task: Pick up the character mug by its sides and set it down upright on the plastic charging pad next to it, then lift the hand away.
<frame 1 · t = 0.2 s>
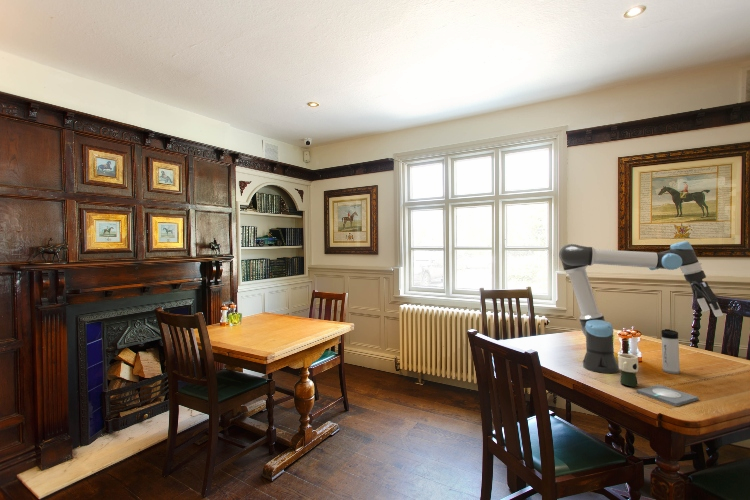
hand: (712, 313, 164), 28 cm above the table, tool tilted 20°, fingers open, 13 cm apart
travel mug: (671, 372, 165), on the table
charging pad: (666, 396, 139), on the table
character mug: (629, 385, 151), on the table
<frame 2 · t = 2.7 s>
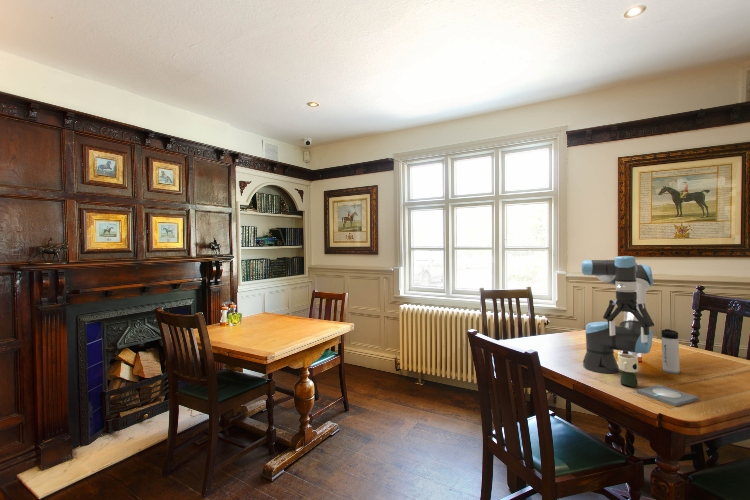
hand: (627, 338, 151), 21 cm above the table, tool pointing down, fingers open, 13 cm apart
nothing on the table moved.
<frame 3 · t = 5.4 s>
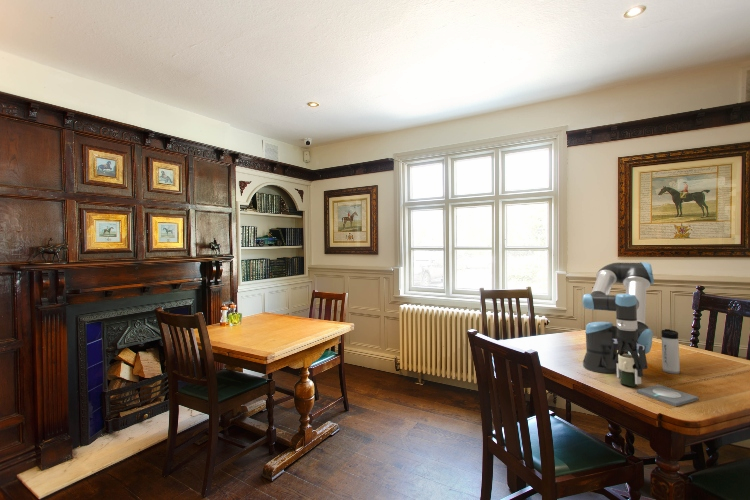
hand: (628, 380, 151), 2 cm above the table, tool pointing down, fingers closed on character mug, 7 cm apart
character mug: (629, 385, 151), on the table, touching gripper
everything else where it was.
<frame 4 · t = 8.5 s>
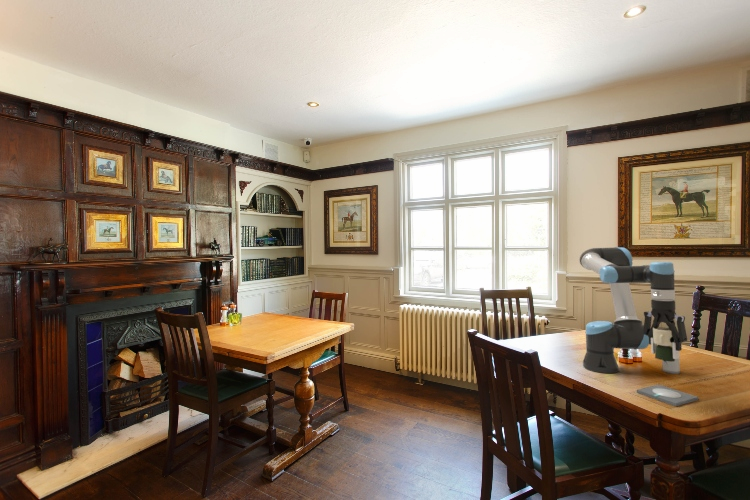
hand: (665, 355, 139), 17 cm above the table, tool pointing down, fingers closed on character mug, 7 cm apart
character mug: (665, 361, 139), point 14 cm above the table, touching gripper
everything else where it was.
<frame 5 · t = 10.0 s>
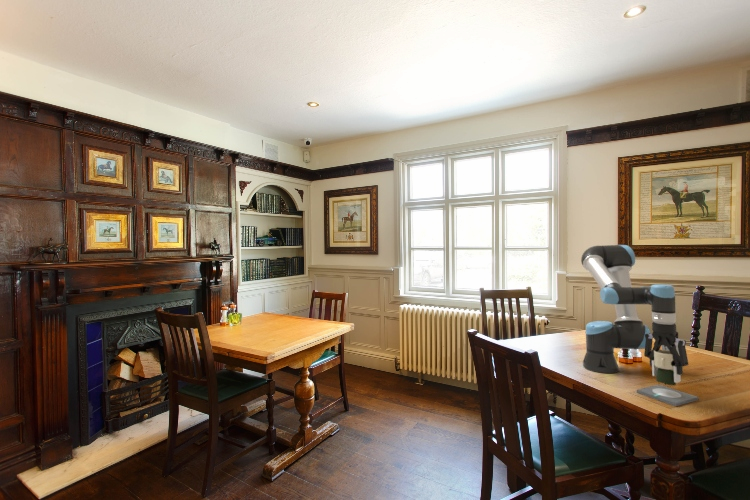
hand: (666, 378, 139), 7 cm above the table, tool pointing down, fingers closed on character mug, 7 cm apart
character mug: (666, 384, 139), point 5 cm above the table, touching gripper
everything else where it was.
when the fingers open (5 cm above the table, at t = 11.4 s): character mug drops 1 cm, resting on charging pad.
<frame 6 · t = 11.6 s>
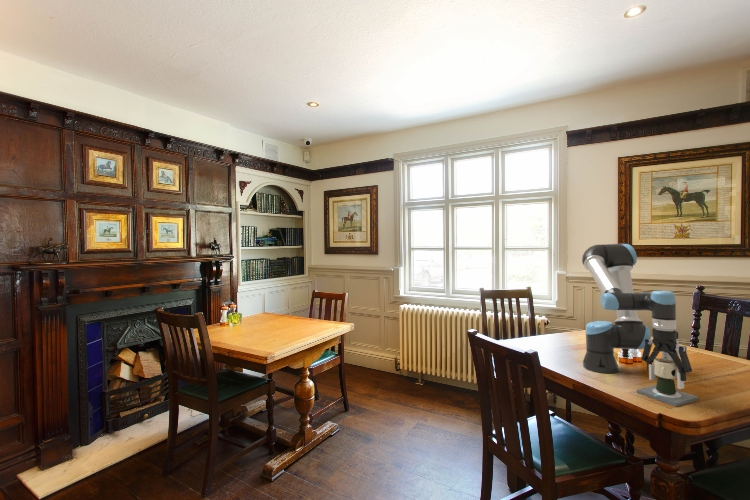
hand: (666, 383, 139), 5 cm above the table, tool pointing down, fingers open, 9 cm apart
character mug: (666, 393, 139), point 1 cm above the table, touching charging pad
everything else where it was.
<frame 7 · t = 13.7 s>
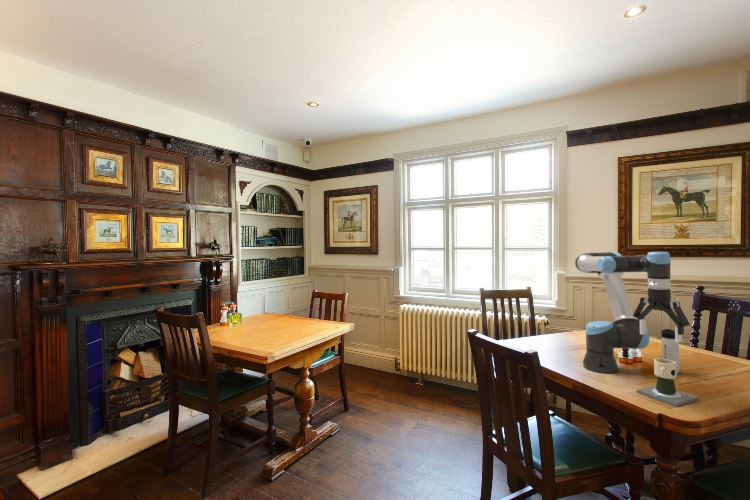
hand: (659, 337, 145), 22 cm above the table, tool pointing down, fingers open, 13 cm apart
nothing on the table moved.
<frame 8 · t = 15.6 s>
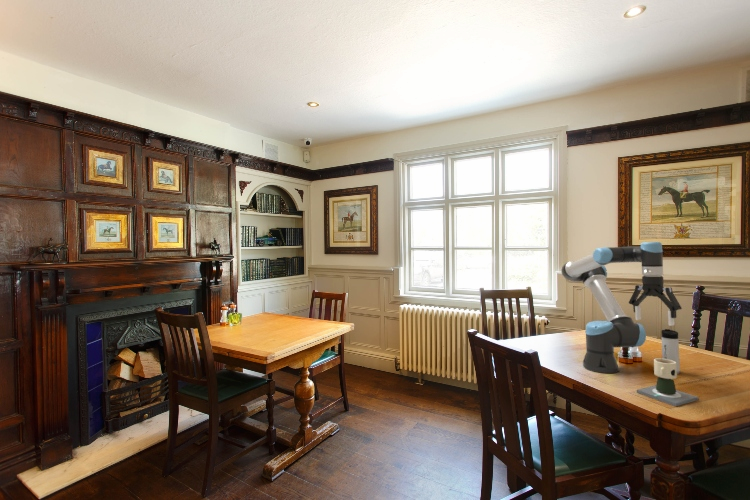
hand: (654, 322, 154), 27 cm above the table, tool pointing down, fingers open, 13 cm apart
nothing on the table moved.
at the end: character mug inside the target area on the charging pad (0.2 cm from its centre), point 1.2 cm above the charging pad's base; character mug tilted 0°; the gripper is holding nothing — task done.
